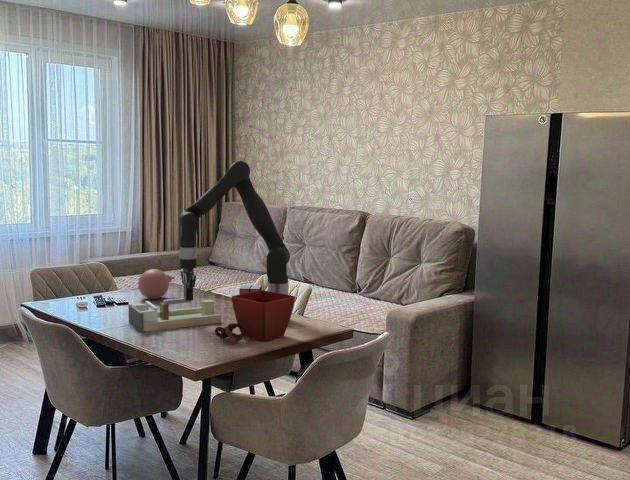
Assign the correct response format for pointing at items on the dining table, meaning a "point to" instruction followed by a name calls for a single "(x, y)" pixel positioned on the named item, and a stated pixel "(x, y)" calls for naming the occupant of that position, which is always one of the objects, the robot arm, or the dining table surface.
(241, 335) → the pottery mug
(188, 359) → the dining table surface
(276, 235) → the robot arm
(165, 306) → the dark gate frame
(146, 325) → the tray with compartments
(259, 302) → the plant pot
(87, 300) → the dining table surface
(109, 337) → the dining table surface
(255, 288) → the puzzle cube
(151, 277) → the balloon
